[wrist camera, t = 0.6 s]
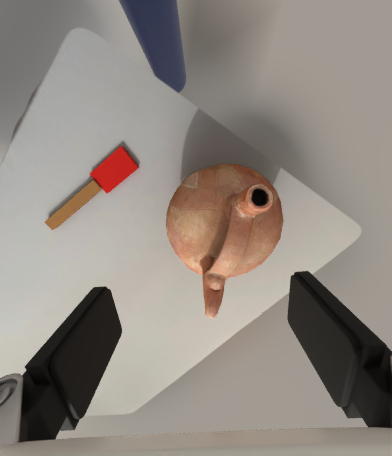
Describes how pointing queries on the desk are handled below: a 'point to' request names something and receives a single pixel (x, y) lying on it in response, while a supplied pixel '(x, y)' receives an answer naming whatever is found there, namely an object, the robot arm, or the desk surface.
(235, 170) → the jug
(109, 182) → the spatula
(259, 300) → the desk surface
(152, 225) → the desk surface
